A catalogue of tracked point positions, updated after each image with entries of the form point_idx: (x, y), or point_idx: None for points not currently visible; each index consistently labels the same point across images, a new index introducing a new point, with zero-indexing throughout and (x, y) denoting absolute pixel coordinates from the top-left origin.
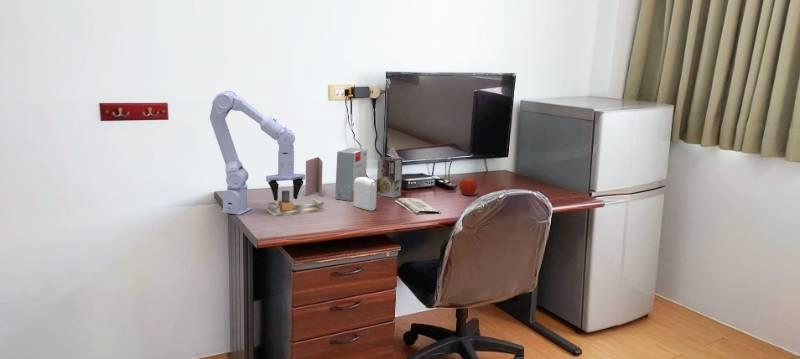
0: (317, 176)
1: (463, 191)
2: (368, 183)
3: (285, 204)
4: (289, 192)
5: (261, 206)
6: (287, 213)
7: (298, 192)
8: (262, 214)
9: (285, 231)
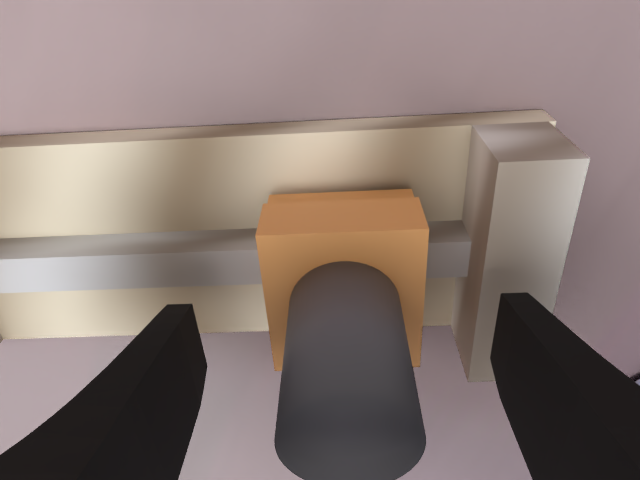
0: None
1: None
2: None
3: (377, 221)
4: (280, 406)
5: (468, 449)
6: (357, 124)
7: (100, 375)
8: (616, 221)
9: None
